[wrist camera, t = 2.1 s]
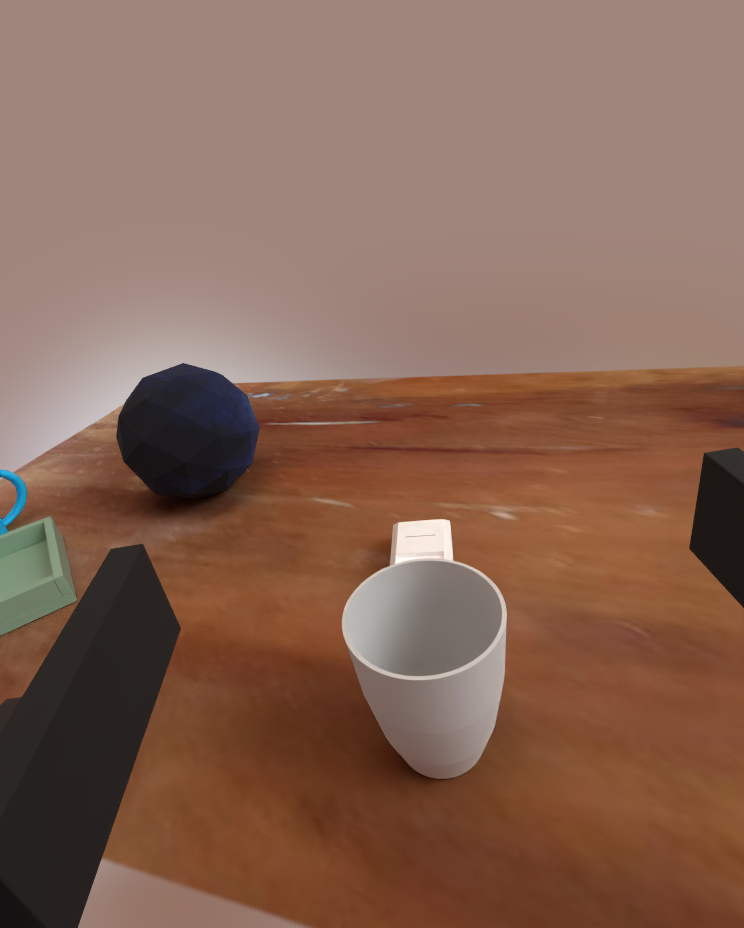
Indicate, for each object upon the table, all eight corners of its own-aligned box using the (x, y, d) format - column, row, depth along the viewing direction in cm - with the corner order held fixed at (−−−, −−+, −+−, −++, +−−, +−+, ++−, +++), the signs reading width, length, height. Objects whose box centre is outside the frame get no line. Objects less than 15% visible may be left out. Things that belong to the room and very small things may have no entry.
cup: (523, 695, 33) (519, 569, 29) (496, 831, 27) (486, 698, 22) (399, 667, 37) (377, 549, 32) (350, 782, 30) (313, 657, 26)
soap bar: (451, 537, 48) (449, 512, 47) (456, 612, 40) (453, 585, 39) (396, 541, 49) (392, 517, 47) (390, 615, 41) (385, 589, 40)
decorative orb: (188, 408, 71) (106, 342, 58) (292, 405, 67) (228, 332, 53) (159, 513, 66) (61, 466, 53) (269, 517, 61) (192, 467, 48)
